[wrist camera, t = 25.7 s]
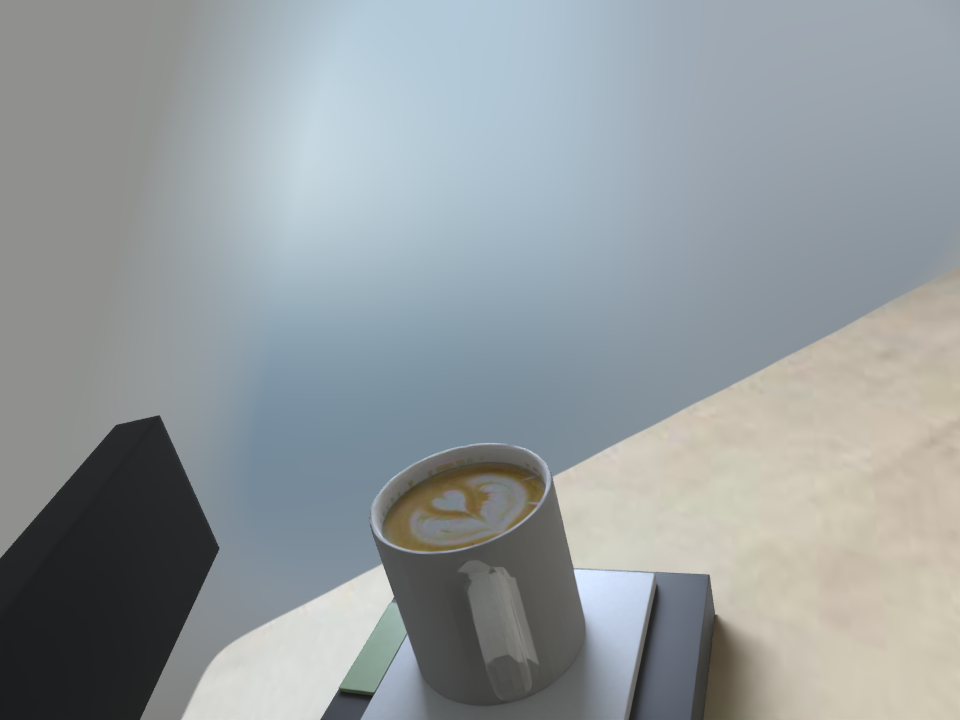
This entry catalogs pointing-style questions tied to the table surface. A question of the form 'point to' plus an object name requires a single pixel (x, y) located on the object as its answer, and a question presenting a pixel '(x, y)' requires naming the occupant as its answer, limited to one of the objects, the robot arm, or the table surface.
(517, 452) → the coffee mug
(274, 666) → the table surface
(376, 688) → the scale
